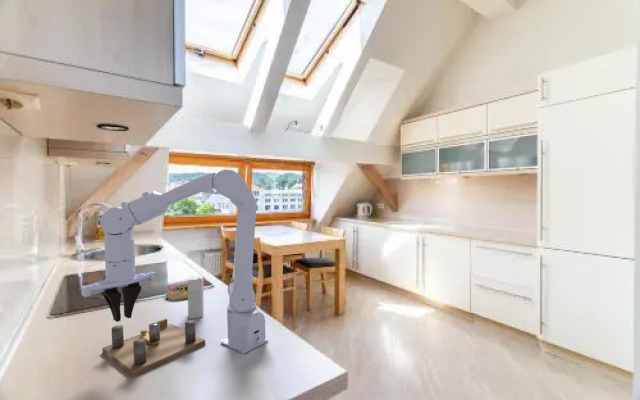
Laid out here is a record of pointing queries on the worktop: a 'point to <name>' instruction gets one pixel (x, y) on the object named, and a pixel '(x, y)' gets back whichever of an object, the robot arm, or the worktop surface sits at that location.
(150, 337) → the bar
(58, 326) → the worktop surface
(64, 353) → the worktop surface
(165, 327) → the seat board
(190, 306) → the skincare box
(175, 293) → the bread roll
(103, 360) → the worktop surface
